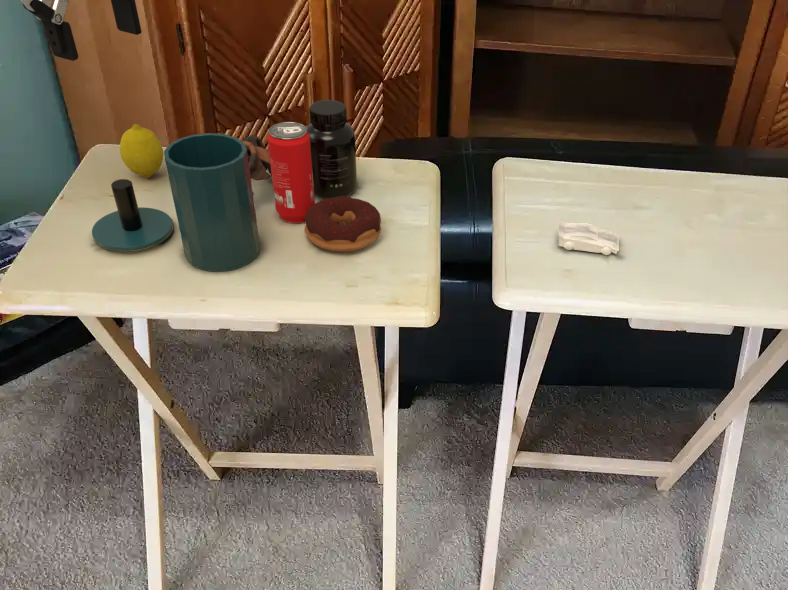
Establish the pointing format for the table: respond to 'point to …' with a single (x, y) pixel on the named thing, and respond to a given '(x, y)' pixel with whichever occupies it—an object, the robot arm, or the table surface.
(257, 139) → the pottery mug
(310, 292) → the table surface
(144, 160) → the fruit
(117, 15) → the robot arm
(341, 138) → the supplement bottle
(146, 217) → the lid
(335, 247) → the donut
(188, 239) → the pot
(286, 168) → the beverage can
